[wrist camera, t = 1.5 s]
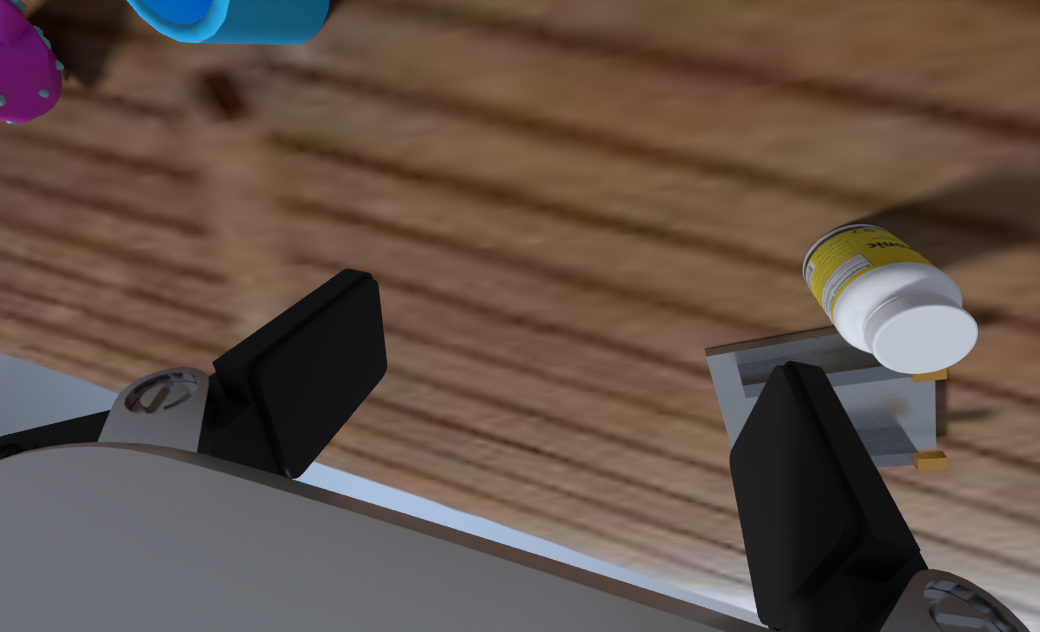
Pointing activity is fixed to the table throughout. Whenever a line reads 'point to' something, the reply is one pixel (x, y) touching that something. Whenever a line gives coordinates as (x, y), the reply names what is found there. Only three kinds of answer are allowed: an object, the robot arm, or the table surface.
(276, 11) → the mug
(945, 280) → the supplement bottle
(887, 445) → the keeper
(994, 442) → the table surface
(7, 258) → the table surface
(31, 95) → the tree
